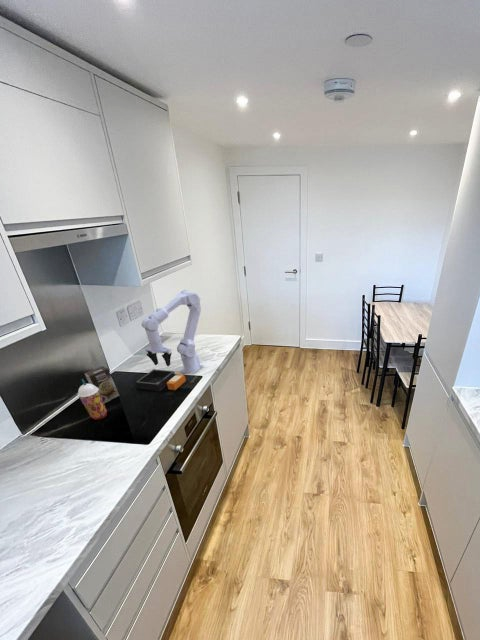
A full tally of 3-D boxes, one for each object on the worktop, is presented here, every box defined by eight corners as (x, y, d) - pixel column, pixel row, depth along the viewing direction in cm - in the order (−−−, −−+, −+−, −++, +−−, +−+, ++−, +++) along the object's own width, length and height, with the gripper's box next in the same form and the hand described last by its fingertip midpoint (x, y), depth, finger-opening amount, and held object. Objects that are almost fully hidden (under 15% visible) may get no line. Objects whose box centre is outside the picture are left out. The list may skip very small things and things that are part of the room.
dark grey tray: (155, 376, 183) (153, 369, 181) (176, 378, 179) (174, 371, 177) (138, 389, 171) (135, 382, 169) (160, 391, 168) (157, 384, 165)
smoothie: (86, 420, 150) (66, 382, 139) (100, 410, 156) (83, 373, 145) (99, 423, 147) (80, 385, 136) (113, 412, 154) (97, 375, 143)
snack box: (179, 380, 177) (177, 373, 174) (186, 381, 176) (184, 374, 173) (168, 390, 169) (166, 382, 166) (175, 391, 168) (173, 383, 165)
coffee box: (102, 404, 160) (89, 376, 151) (96, 401, 164) (83, 372, 155) (120, 396, 166) (108, 368, 157) (114, 392, 170) (102, 365, 161)
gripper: (138, 343, 164) (146, 367, 172) (162, 345, 161) (169, 369, 168) (147, 338, 170) (154, 361, 177) (170, 339, 166) (177, 363, 174)
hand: (162, 364), depth 173 cm, fingers open, 7 cm apart
